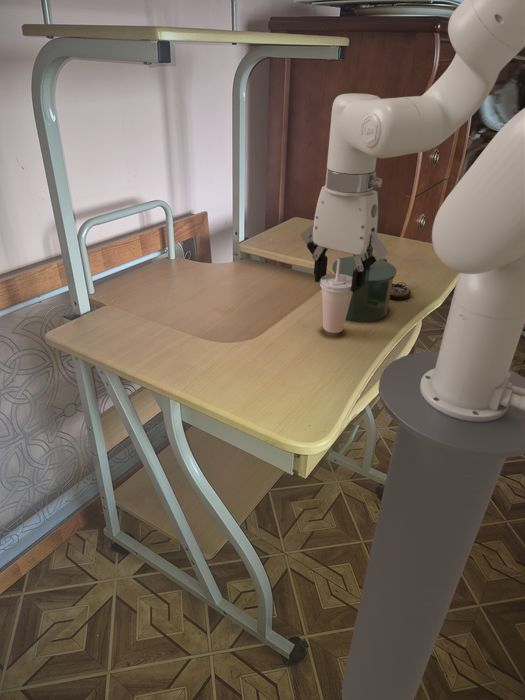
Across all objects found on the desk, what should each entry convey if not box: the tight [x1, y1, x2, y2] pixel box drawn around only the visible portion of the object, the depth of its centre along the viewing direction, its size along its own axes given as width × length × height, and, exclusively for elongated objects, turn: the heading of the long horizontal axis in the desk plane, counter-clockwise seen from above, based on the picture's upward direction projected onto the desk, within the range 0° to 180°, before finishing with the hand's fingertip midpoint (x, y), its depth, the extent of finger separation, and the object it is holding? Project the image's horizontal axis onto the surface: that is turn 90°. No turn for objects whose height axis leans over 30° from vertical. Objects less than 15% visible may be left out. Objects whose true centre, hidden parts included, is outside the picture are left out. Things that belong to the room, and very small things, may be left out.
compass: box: [381, 257, 412, 300], centre depth 108 cm, size 8×8×7 cm
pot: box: [333, 271, 394, 323], centre depth 100 cm, size 11×11×8 cm
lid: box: [332, 248, 397, 283], centre depth 97 cm, size 12×12×7 cm
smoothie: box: [319, 257, 353, 334], centre depth 90 cm, size 6×6×14 cm
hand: (337, 283), depth 89 cm, fingers closed on smoothie, 6 cm apart
